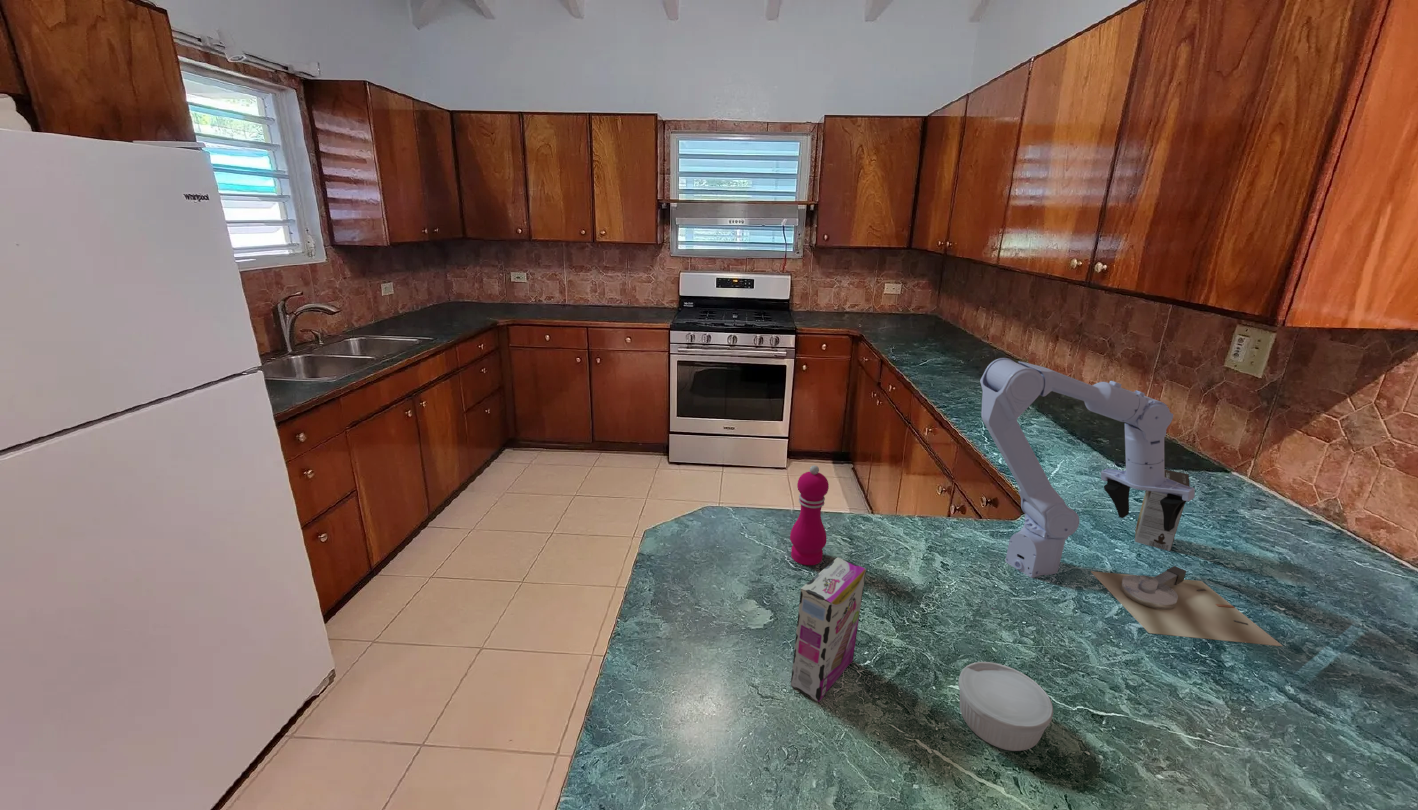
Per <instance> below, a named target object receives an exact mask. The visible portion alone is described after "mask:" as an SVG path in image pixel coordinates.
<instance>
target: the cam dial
mask: <svg viewBox="0 0 1418 810" xmlns="http://www.w3.org/2000/svg"><path fill="white" fill-rule="evenodd" d="M1186 573H1187V570H1185V569H1183V568H1181V567H1178V566H1176V565H1173V566H1172V567H1170V568H1168V569H1166V570H1165V571H1163V572H1161V573H1160V574H1157V575H1155V576H1151V575H1145V574H1144V575H1143V574H1142V575H1139V574H1138V575H1139V576H1138V575H1137V574H1128V576H1125V577H1124V578H1123V580H1122V584H1121V590H1122V592H1123V593H1124V594H1125V595H1126V596H1128V597H1129V598H1130V599H1132V600H1134V601H1136V602H1138V603H1140V604H1143V605H1145V606H1148V607H1152V608H1156V609H1163V610H1168V609H1173V608H1174V607H1175V606H1176V603H1177V599H1178V595H1177V593H1176V592H1175V591H1174V590H1173V589H1172V588H1170V587H1171V586H1173V585H1177V584H1179V583H1181V582H1183V581H1184V579H1185V577H1186ZM1150 576H1151V577H1150Z"/></svg>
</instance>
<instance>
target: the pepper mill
mask: <svg viewBox="0 0 1418 810" xmlns="http://www.w3.org/2000/svg"><path fill="white" fill-rule="evenodd" d="M796 486H797V491H798V492H799V495H798V503H799V504H800V512H799V514H798V515H799V516H798V517H797V520H796V521H795V523H794V524H793V526H792V528H791V529H790V530H791V531H790V536H789V540H790V542H791V544H792V546H791V550H790V551H791V552H790V556H791V559H792V560H793V561H794V562H796V563H797V564H800V565H805V566H815V565H818V564H820V563H821V562H822V560H823V554H824V552H823V548H825V546H826V544H827V532H826V529H825V526H824V523H823V521H822V516H821V513H822V507H824V506H825V500H826V497H825V496H826V495H827V494H828V492H829V480H828V478H827V477H826V476H825V475H824V474H822V473H821V472H820V469H819V467H818V466H817V465H815V464H814V465H811V466H810V468H809V471H806V472H804V473H802V474H801V475H800V476H799V478H798V480H797V484H796Z"/></svg>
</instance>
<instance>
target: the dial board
mask: <svg viewBox="0 0 1418 810" xmlns="http://www.w3.org/2000/svg"><path fill="white" fill-rule="evenodd" d="M1090 572H1091V574H1092V575H1093V576H1094V577H1095V578H1096V579H1097V580H1098V581H1099V583H1101V584H1102V586H1104V587H1105V589H1106V590H1107V591H1109V593H1110V594H1111V595H1112V596H1113V597H1114V598H1115V599H1116V600H1117V601H1118V602H1119V603H1120V605H1121V606H1122V607H1123V608H1124V609H1125V610H1127V612H1128V613H1130V615H1131V616H1132V617H1133V618H1134V619H1135V620H1136V621H1137V622H1138V624H1140V625H1141V626H1142V627H1143V629H1145V631H1146V632H1147V633H1148V634H1153V635H1164V636H1175V637H1185V638H1194V639H1203V640H1213V641H1214V640H1216V641H1225V642H1233V643H1234V642H1236V643H1246V644H1255V645H1265V646H1276V647H1283V645H1282V644H1281V643H1280V642H1279V641H1277V640H1276V639H1275V638H1274V637H1272V636H1271V635H1270V634H1269V633H1268V632H1266V631H1265V630H1264V629H1262V628H1261V627H1260V626H1258V625H1257V623H1255V622H1253V621H1252V620H1251V619H1250V618H1248V617H1247V615H1245V614H1243V612H1241V611H1240V610H1238V608H1236V606H1234V605H1232V604H1231V603H1230V602H1228V601H1227V600H1226V599H1225V598H1224V597H1222V595H1219V594H1218V593H1217V592H1216V591H1215V590H1213V588H1211V587H1210V586H1209V585H1207V584H1206V583H1204V582H1203V580H1194V579H1185V578H1184V581H1183V582H1181V583H1179V584H1177V585H1173V586H1171V587H1170V588H1172V589H1173V590H1174V591H1175V592H1176V593H1177V595H1178V599H1177V603H1176V606H1175V607H1174V608H1173V609H1168V610H1163V609H1156V608H1152V607H1148V606H1145V605H1143V604H1140V603H1138V602H1136V601H1134V600H1132V599H1130V598H1129V597H1128V596H1126V595H1125V594H1124V593H1123V592H1122V590H1121V584H1122V580H1123V578H1124V577H1125V576H1128V575H1129V574H1127V573H1115V572H1114V573H1113V572H1106V571H1105V572H1103V571H1093V570H1091V571H1090ZM1138 576H1140V575H1139V574H1138ZM1149 576H1150V577H1152V576H1151V575H1149Z"/></svg>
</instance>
